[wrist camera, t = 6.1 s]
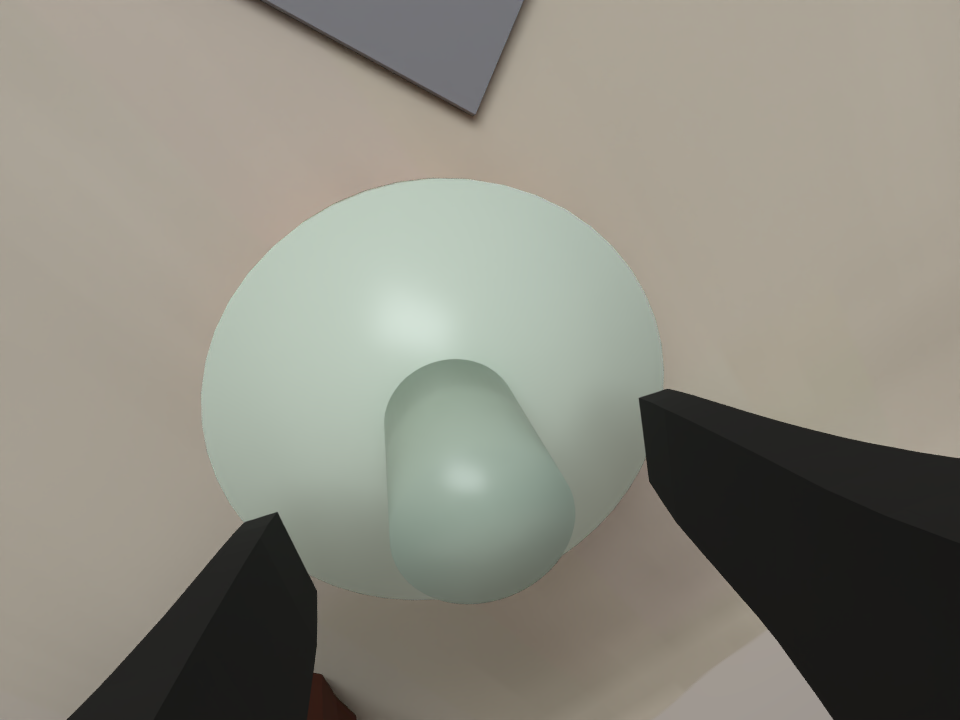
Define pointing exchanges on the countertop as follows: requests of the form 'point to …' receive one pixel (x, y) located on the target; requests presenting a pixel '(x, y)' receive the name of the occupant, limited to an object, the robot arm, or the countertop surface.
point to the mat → (419, 38)
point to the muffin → (326, 702)
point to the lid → (433, 389)
